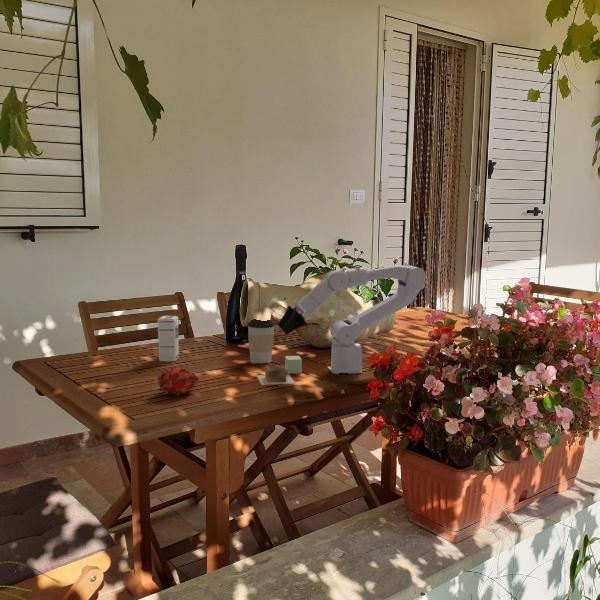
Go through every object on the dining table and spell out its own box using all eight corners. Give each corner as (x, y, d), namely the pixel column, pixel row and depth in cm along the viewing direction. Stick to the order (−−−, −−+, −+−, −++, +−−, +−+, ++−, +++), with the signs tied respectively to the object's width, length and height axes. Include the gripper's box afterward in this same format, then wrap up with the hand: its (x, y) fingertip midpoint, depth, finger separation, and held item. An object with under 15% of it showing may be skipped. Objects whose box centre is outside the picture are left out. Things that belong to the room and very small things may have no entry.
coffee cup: (257, 357, 224) (257, 314, 221) (279, 361, 219) (280, 317, 217) (241, 362, 216) (242, 318, 214) (264, 366, 212) (264, 321, 209)
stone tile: (288, 375, 202) (288, 374, 202) (295, 384, 192) (295, 383, 192) (256, 377, 200) (256, 375, 199) (261, 386, 190) (261, 384, 190)
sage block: (298, 371, 208) (298, 355, 207) (301, 374, 203) (301, 359, 202) (284, 371, 207) (285, 356, 206) (287, 375, 202) (287, 359, 202)
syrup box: (176, 361, 216) (175, 318, 214) (158, 361, 216) (157, 318, 214) (179, 357, 222) (178, 315, 220) (162, 357, 222) (161, 315, 220)
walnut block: (283, 376, 199) (283, 365, 198) (286, 381, 194) (286, 370, 193) (265, 377, 198) (265, 366, 197) (268, 382, 192) (268, 370, 192)
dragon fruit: (153, 401, 180) (194, 401, 185) (163, 390, 173) (205, 391, 179) (151, 372, 183) (191, 374, 189) (160, 360, 177) (202, 362, 183)
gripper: (300, 287, 209) (269, 316, 208) (311, 294, 195) (277, 324, 194) (314, 303, 210) (283, 331, 210) (326, 311, 196) (292, 341, 196)
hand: (281, 329), depth 202 cm, fingers open, 7 cm apart
